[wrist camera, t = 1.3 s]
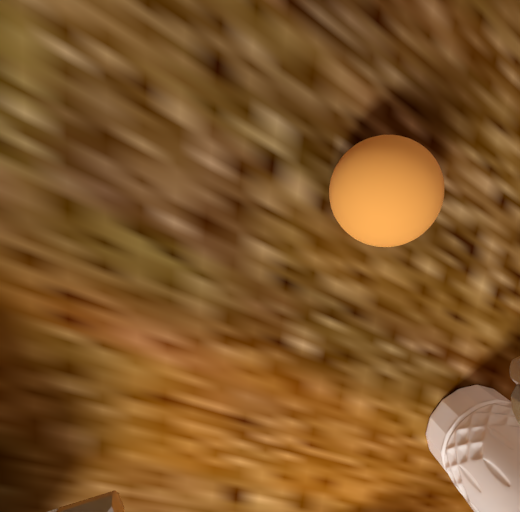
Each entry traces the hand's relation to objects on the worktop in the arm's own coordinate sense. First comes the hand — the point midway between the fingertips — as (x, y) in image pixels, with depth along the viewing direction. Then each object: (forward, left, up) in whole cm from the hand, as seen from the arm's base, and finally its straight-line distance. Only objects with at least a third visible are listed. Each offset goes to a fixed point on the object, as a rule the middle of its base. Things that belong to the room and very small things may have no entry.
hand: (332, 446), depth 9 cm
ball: (0, +10, -16) cm, 19 cm away
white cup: (+20, +16, -19) cm, 32 cm away
